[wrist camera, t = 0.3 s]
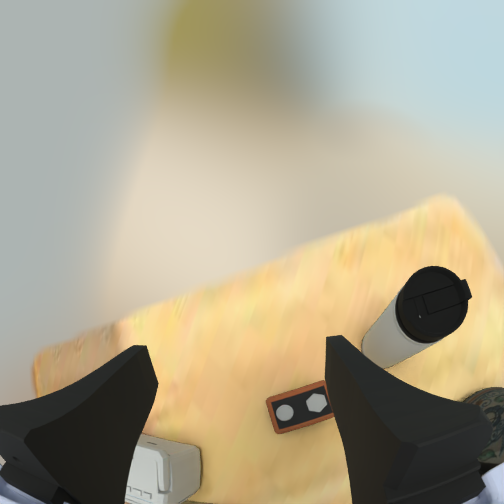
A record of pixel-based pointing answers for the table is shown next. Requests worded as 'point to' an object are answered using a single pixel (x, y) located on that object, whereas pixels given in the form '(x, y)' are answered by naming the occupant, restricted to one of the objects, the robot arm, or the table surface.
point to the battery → (300, 407)
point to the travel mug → (418, 316)
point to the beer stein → (500, 414)
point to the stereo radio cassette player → (163, 472)
